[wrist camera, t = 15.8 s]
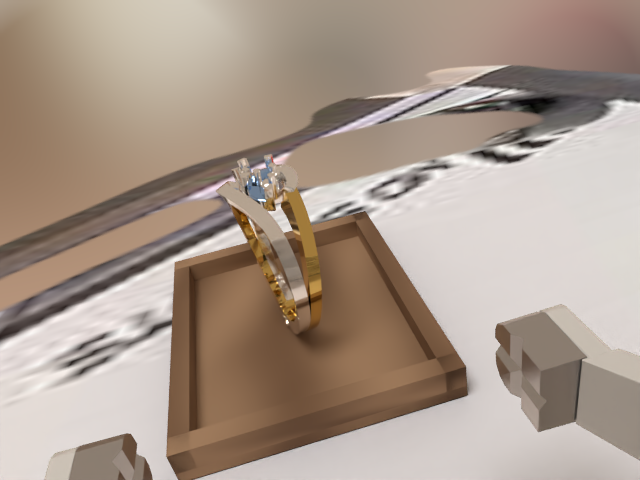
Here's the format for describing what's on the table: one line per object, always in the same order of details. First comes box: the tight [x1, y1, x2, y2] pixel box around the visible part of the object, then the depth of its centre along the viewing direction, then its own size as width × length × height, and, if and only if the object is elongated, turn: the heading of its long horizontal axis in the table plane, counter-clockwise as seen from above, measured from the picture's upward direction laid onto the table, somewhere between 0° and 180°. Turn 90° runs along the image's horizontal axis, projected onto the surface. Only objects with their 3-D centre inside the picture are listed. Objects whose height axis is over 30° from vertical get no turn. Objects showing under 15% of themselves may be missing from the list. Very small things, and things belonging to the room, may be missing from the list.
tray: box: [166, 211, 467, 480], centre depth 25 cm, size 11×13×2 cm
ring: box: [216, 154, 322, 334], centre depth 23 cm, size 7×3×8 cm, turn 21°
